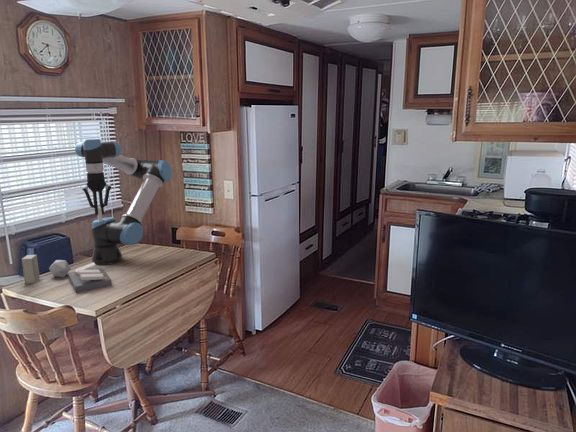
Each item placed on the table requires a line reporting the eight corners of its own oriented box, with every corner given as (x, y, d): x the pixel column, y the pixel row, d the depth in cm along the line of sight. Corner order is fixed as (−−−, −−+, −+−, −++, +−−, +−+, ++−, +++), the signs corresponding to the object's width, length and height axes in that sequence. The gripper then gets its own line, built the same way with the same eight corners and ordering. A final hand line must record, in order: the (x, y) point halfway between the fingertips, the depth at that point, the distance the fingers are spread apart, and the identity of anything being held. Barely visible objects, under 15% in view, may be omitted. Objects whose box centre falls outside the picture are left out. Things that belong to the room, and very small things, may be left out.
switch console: (68, 279, 207) (67, 271, 206) (102, 272, 215) (101, 265, 215) (75, 293, 190) (74, 285, 189) (111, 285, 198) (111, 277, 198)
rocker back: (75, 272, 207) (74, 269, 207) (94, 264, 212) (93, 262, 211) (77, 274, 204) (76, 272, 203) (96, 267, 208) (95, 264, 208)
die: (55, 281, 206) (66, 264, 206) (42, 271, 207) (53, 254, 208) (66, 281, 214) (77, 265, 214) (53, 272, 215) (64, 255, 216)
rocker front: (80, 277, 195) (80, 274, 195) (101, 276, 201) (101, 273, 200) (81, 280, 192) (82, 277, 192) (103, 279, 197) (103, 276, 197)
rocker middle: (77, 272, 201) (77, 269, 201) (98, 272, 206) (98, 269, 206) (79, 275, 198) (79, 272, 197) (100, 275, 203) (100, 272, 203)
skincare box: (30, 279, 208) (27, 254, 205) (40, 278, 208) (37, 254, 206) (24, 283, 202) (20, 258, 199) (34, 283, 202) (31, 258, 200)
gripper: (81, 174, 198) (87, 224, 203) (111, 171, 205) (116, 220, 210) (78, 172, 204) (84, 221, 209) (108, 170, 211) (112, 217, 216)
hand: (100, 220), depth 210 cm, fingers closed
